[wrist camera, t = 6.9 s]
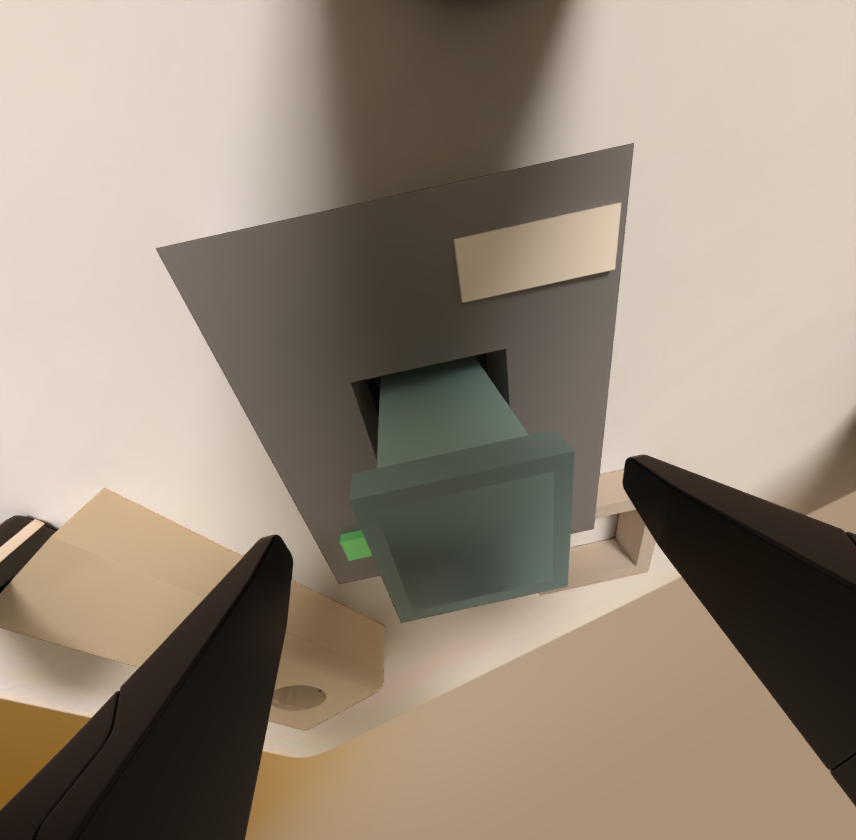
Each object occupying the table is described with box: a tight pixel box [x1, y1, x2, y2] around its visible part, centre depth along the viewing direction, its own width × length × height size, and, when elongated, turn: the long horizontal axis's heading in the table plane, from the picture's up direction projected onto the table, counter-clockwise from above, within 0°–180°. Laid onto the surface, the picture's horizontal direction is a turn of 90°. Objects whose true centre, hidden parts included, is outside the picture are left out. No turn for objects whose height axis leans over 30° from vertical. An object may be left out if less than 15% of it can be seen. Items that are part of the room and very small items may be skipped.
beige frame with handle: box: [539, 470, 656, 595], centre depth 18 cm, size 10×6×2 cm, turn 101°
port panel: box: [156, 143, 634, 584], centre depth 13 cm, size 12×14×3 cm
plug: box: [349, 356, 575, 623], centre depth 11 cm, size 4×4×8 cm
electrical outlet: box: [0, 488, 384, 730], centre depth 18 cm, size 7×4×18 cm
